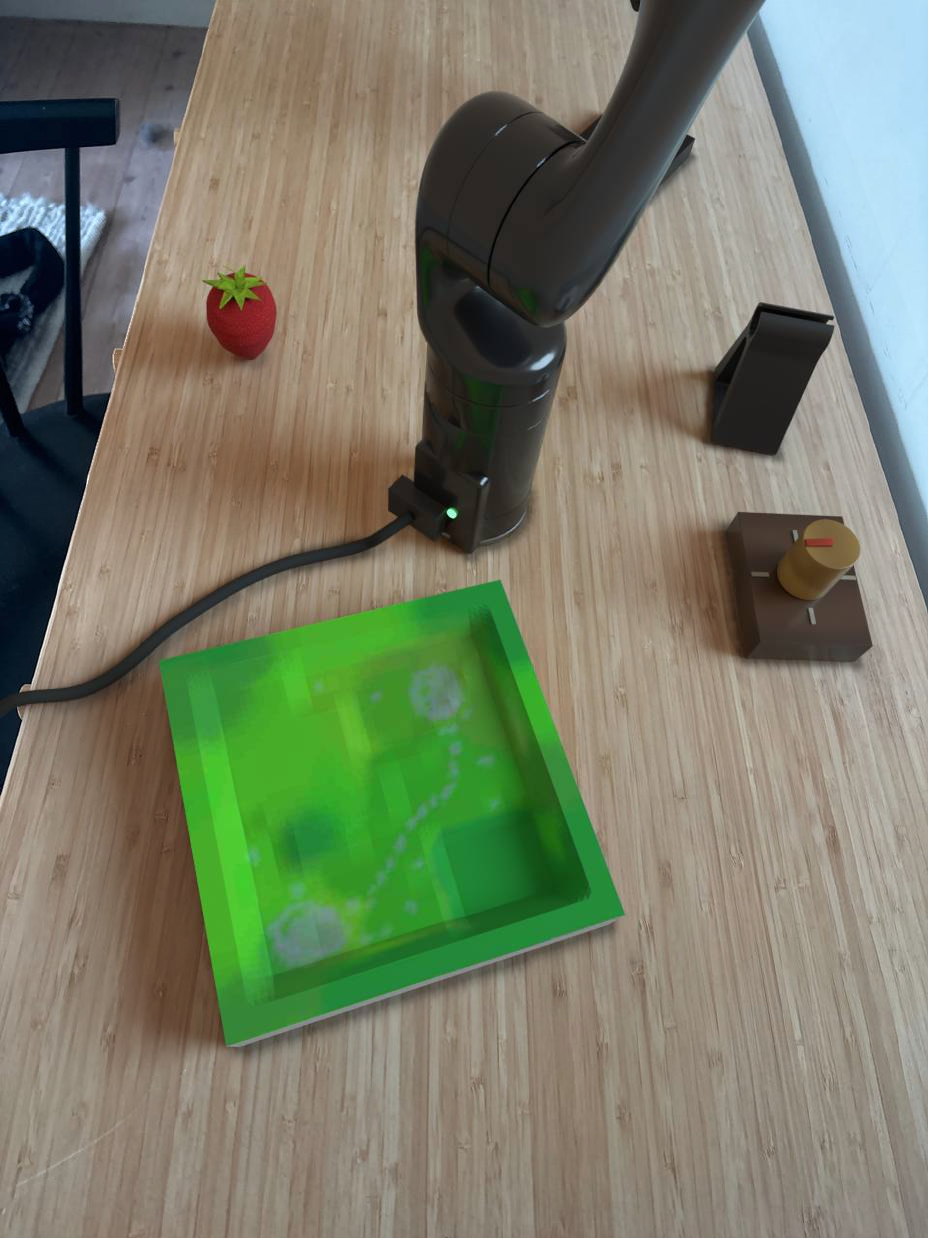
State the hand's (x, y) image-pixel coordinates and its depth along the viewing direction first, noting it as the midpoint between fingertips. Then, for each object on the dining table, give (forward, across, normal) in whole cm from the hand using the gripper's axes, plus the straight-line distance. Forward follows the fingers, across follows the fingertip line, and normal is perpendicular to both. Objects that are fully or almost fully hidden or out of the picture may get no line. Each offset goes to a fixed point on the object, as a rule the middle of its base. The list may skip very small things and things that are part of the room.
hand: (652, 64), depth 87 cm
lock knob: (+7, +39, -39) cm, 56 cm away
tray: (+11, +23, -73) cm, 77 cm away
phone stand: (+10, +27, -24) cm, 38 cm away
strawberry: (+11, -12, -48) cm, 50 cm away
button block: (+10, 0, 0) cm, 10 cm away
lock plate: (+10, +39, -39) cm, 56 cm away
